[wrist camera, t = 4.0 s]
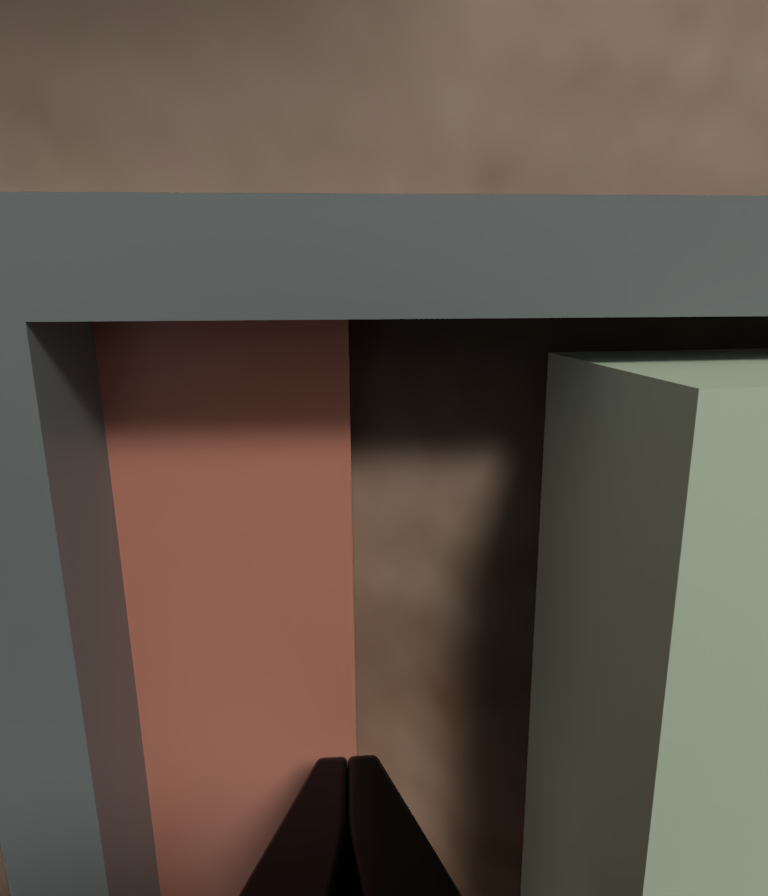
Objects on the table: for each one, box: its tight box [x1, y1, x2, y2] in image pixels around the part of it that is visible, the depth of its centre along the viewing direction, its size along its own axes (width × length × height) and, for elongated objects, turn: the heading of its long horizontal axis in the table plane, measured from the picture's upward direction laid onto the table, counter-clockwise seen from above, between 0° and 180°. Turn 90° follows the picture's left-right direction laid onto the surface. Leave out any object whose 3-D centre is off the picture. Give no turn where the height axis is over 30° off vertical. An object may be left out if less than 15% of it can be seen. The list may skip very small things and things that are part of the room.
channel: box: [0, 192, 768, 896], centre depth 9 cm, size 19×15×2 cm
